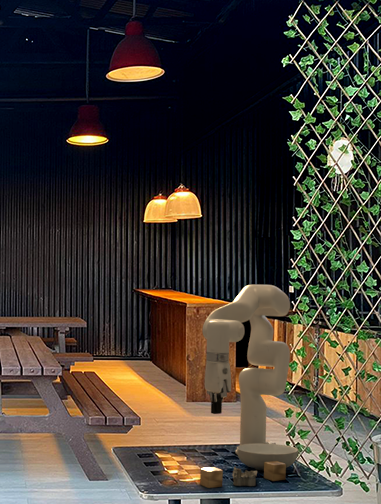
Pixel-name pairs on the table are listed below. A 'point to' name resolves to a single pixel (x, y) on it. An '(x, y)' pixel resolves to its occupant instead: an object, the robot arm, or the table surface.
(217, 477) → the maple block
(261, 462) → the serving bowl
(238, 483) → the tan cratered rock
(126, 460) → the table surface
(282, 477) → the maple block
